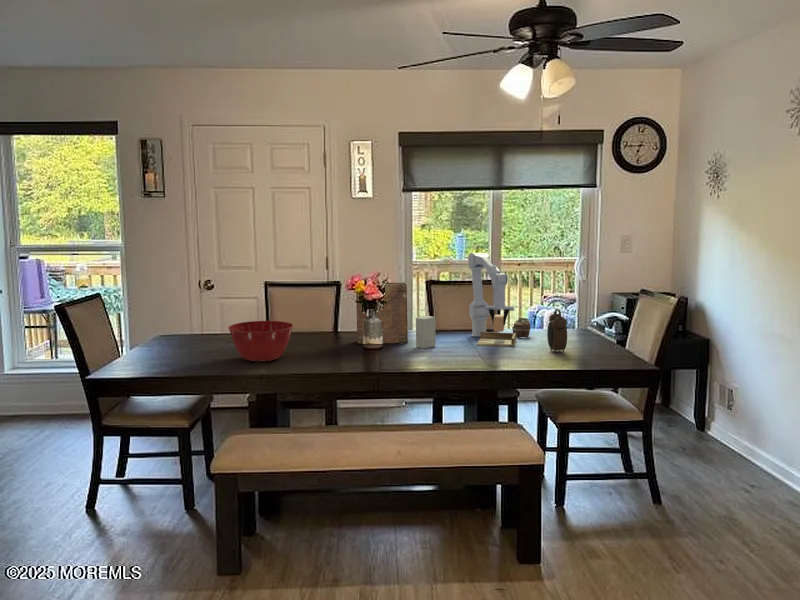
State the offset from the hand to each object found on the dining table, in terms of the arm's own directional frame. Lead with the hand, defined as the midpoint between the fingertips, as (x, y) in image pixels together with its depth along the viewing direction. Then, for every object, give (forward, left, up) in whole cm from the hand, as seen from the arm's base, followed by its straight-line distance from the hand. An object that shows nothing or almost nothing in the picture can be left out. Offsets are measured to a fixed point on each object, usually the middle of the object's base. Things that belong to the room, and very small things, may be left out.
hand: (499, 324), depth 320 cm
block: (0, 0, -2) cm, 3 cm away
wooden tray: (-1, -1, -9) cm, 9 cm away
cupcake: (-21, +10, -10) cm, 25 cm away
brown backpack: (+15, +28, -10) cm, 33 cm away
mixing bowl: (+56, -101, -10) cm, 116 cm away
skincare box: (+15, -34, -10) cm, 39 cm away
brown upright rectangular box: (+8, -58, -10) cm, 60 cm away
